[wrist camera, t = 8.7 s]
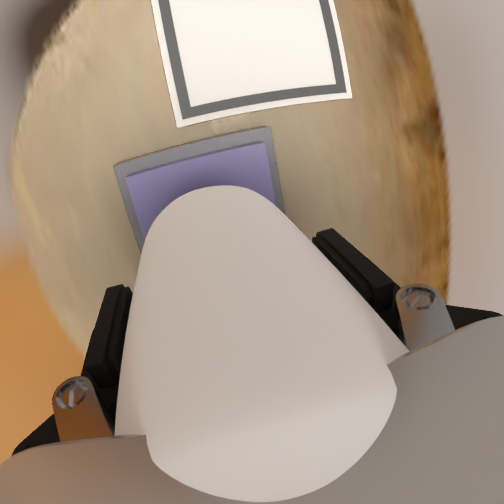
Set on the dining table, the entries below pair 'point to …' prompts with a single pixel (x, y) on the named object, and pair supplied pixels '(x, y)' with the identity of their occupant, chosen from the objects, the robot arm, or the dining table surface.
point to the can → (250, 353)
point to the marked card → (249, 55)
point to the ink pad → (197, 173)
